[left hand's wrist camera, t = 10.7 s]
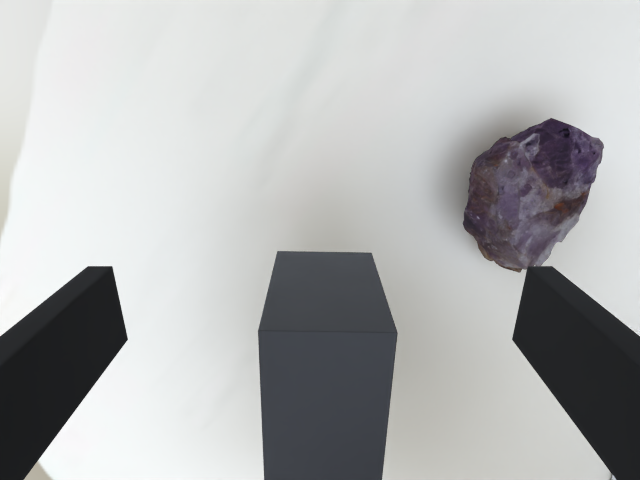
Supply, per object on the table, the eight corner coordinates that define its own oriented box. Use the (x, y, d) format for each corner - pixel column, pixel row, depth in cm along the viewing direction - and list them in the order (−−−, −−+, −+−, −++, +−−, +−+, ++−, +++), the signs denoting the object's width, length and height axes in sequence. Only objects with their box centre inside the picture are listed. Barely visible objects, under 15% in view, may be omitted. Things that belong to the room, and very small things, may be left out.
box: (277, 251, 26) (257, 330, 17) (371, 252, 26) (397, 332, 17) (282, 506, 34) (270, 642, 26) (353, 506, 34) (364, 643, 26)
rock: (566, 147, 36) (465, 108, 34) (652, 147, 27) (525, 95, 26) (512, 267, 38) (415, 236, 36) (577, 301, 29) (455, 262, 28)
